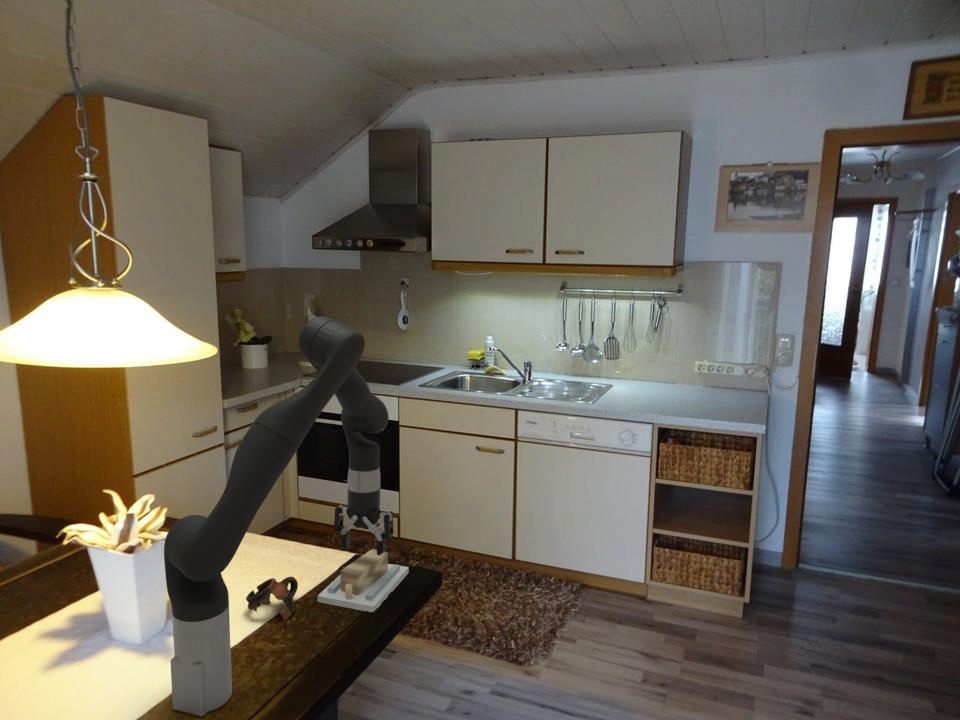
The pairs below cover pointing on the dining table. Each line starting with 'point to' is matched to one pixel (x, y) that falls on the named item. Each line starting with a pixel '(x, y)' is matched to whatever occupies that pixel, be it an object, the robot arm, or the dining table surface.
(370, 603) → the key cradle
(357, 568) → the beige wooden block
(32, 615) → the dining table surface
